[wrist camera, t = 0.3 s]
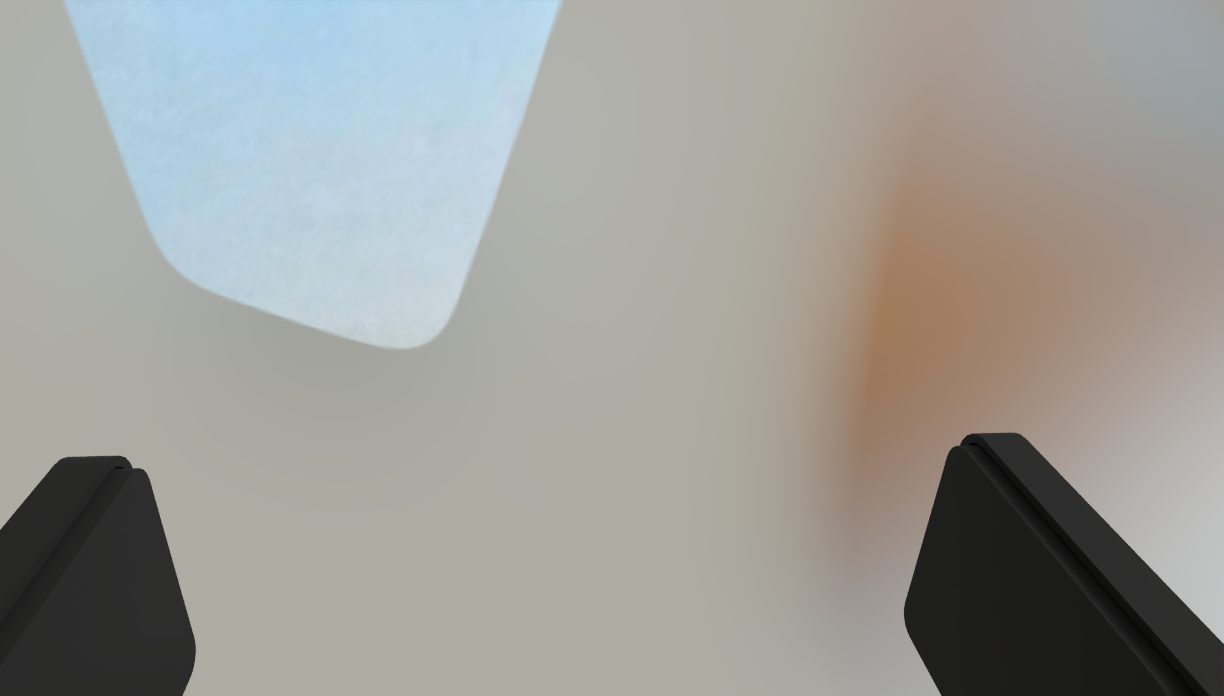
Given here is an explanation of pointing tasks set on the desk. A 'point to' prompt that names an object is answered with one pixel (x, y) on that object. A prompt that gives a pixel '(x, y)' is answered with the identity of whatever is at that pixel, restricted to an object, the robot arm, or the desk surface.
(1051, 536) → the robot arm
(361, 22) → the desk surface
